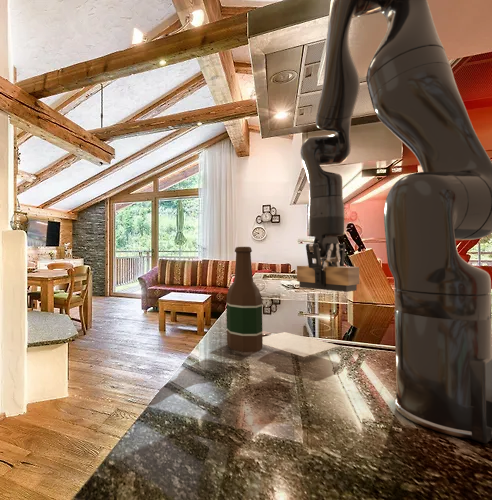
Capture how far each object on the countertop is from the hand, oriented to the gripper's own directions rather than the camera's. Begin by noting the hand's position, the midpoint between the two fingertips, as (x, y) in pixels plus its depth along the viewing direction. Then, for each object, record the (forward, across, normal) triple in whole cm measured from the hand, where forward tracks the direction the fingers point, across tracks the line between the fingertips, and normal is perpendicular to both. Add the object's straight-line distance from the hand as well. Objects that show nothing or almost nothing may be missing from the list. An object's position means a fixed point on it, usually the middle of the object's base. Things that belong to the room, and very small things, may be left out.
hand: (327, 285), depth 73 cm
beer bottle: (+15, -21, +8) cm, 27 cm away
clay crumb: (+14, -8, +13) cm, 21 cm away
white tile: (+14, -9, +3) cm, 17 cm away
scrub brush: (+1, 0, 0) cm, 1 cm away
